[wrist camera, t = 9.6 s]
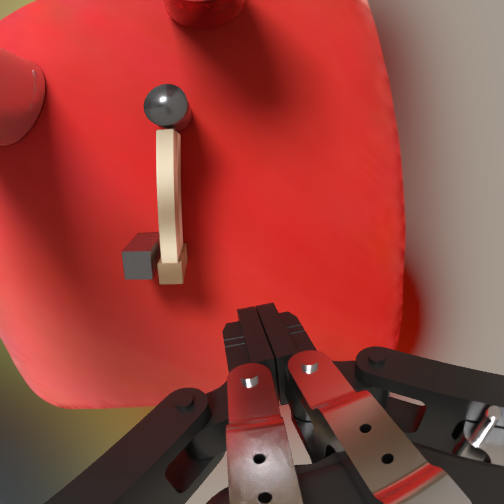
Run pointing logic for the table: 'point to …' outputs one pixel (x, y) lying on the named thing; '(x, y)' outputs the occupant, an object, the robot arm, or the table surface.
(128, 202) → the table surface
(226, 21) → the soda can
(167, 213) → the gate
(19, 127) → the robot arm
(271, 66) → the table surface
